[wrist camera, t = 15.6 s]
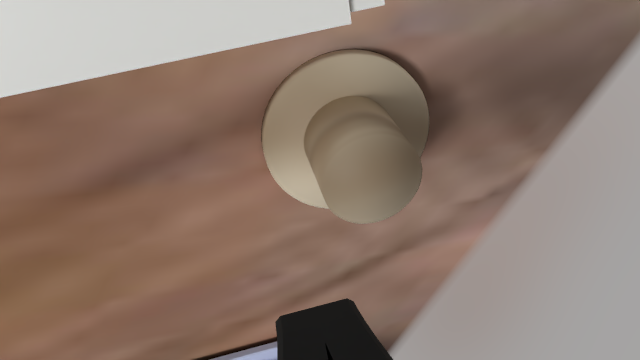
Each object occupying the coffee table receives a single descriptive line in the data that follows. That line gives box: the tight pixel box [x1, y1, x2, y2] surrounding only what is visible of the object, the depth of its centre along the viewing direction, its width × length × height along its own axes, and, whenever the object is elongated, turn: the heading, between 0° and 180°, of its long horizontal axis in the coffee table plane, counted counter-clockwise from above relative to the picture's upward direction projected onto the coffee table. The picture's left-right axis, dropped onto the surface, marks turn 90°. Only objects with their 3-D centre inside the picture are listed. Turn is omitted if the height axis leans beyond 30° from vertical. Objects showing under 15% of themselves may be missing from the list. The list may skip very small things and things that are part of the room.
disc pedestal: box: [261, 49, 429, 224], centre depth 18 cm, size 6×6×4 cm
